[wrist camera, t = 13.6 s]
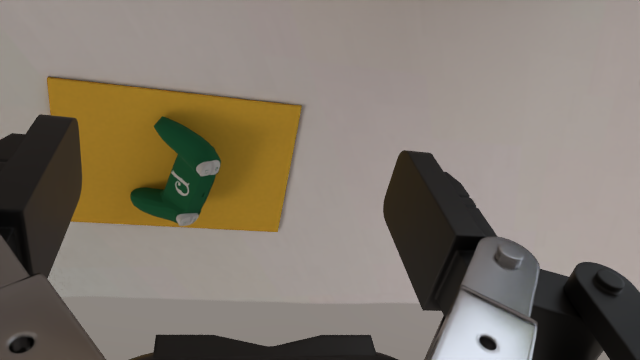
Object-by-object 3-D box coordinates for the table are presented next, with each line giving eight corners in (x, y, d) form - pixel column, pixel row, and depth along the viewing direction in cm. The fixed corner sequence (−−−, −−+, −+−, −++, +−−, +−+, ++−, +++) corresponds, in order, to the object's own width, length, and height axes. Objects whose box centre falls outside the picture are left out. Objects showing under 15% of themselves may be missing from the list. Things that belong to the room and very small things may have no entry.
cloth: (301, 105, 43) (301, 107, 43) (277, 230, 50) (277, 232, 50) (47, 76, 38) (46, 78, 38) (62, 218, 46) (61, 221, 45)
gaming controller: (157, 191, 47) (199, 231, 45) (123, 201, 44) (167, 243, 42) (187, 110, 43) (235, 149, 41) (152, 114, 40) (202, 157, 38)
